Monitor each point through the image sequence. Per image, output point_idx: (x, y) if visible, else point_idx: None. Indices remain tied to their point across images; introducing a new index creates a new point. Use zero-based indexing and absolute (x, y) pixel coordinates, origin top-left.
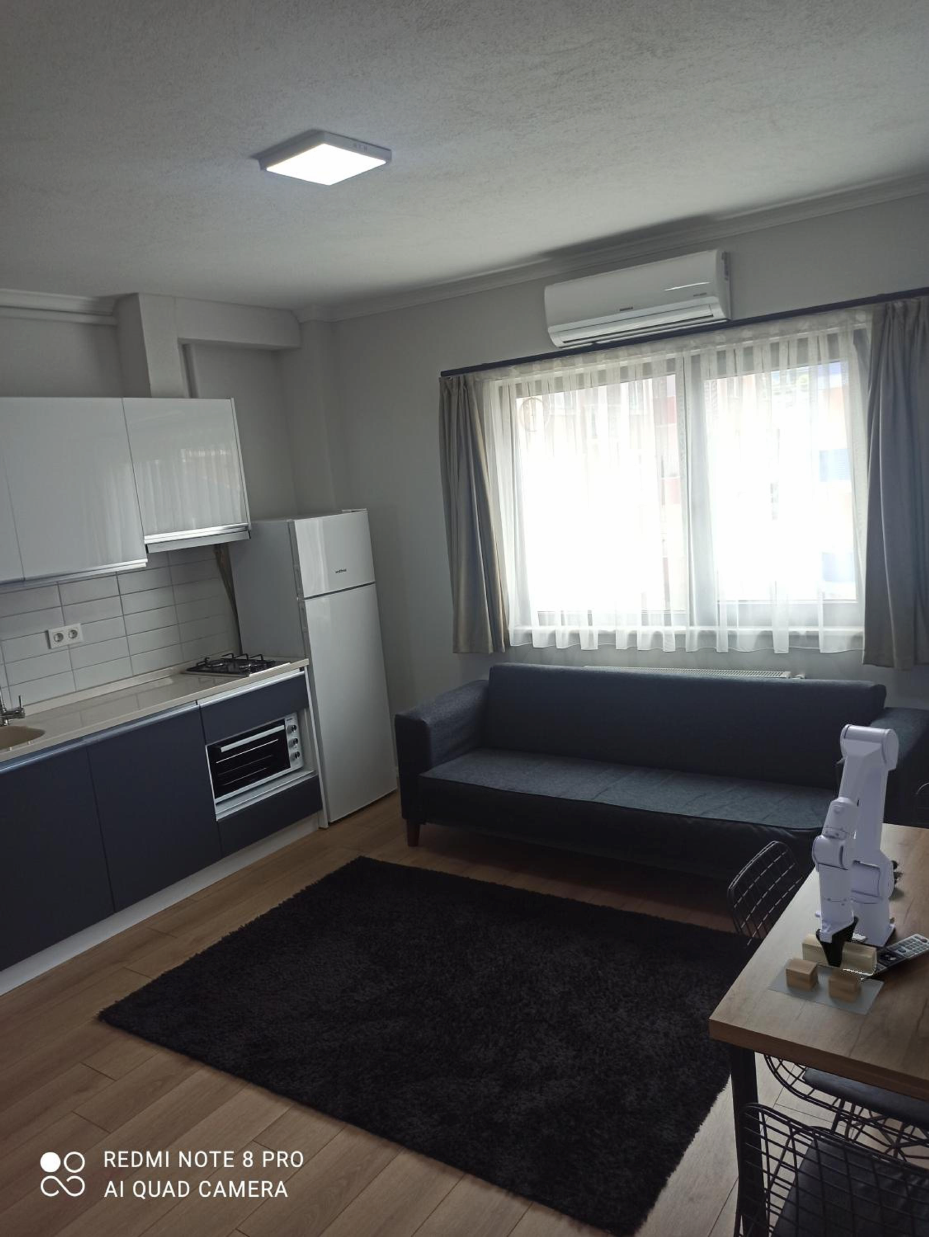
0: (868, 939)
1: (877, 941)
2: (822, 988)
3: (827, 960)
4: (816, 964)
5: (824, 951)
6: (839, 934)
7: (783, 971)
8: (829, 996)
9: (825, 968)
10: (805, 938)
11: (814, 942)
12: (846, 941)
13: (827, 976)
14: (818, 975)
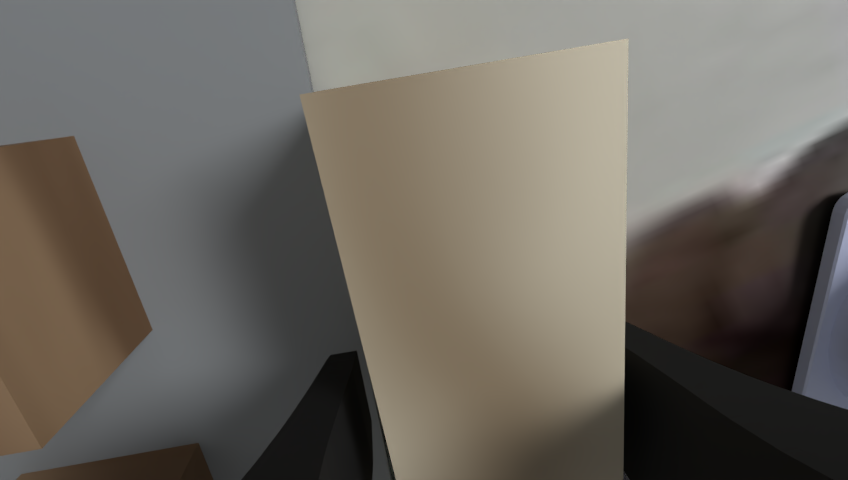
0: (841, 370)
1: (835, 402)
2: None
3: (316, 379)
4: (16, 450)
5: (260, 457)
6: (694, 459)
7: (8, 16)
8: (21, 476)
9: (341, 297)
10: (464, 75)
11: (427, 240)
12: (640, 462)
13: (248, 356)
14: (212, 302)
